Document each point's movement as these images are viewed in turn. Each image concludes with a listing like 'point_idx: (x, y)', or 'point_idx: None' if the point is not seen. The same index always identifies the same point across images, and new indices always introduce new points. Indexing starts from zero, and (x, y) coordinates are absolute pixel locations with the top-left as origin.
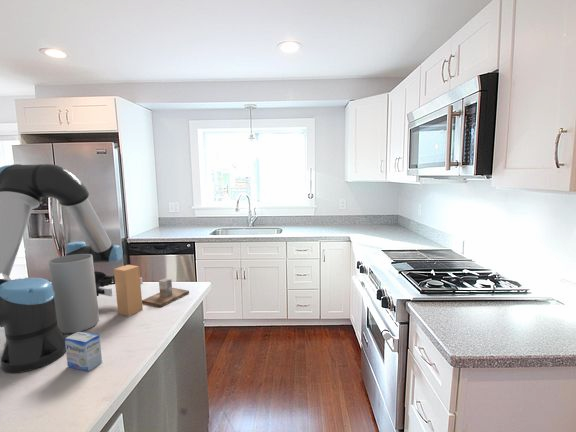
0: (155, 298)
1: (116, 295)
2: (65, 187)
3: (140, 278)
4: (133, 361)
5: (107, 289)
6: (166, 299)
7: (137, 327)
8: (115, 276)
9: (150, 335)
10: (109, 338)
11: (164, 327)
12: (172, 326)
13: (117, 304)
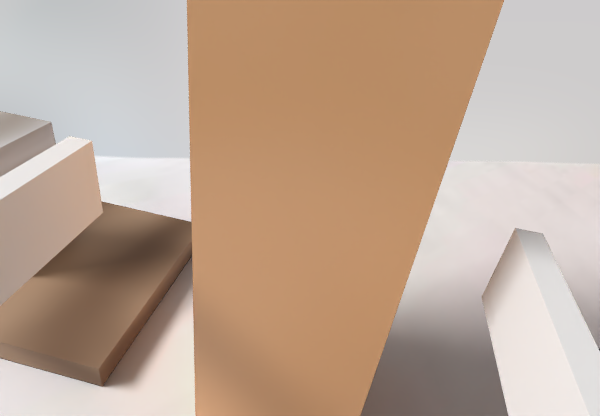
0: (79, 286)
1: (384, 342)
2: None
3: (90, 147)
4: (573, 178)
5: (554, 267)
6: (119, 224)
7: (439, 241)
8: (468, 86)
9: (456, 188)
10: (578, 291)
11: None
12: None
13: (361, 409)
